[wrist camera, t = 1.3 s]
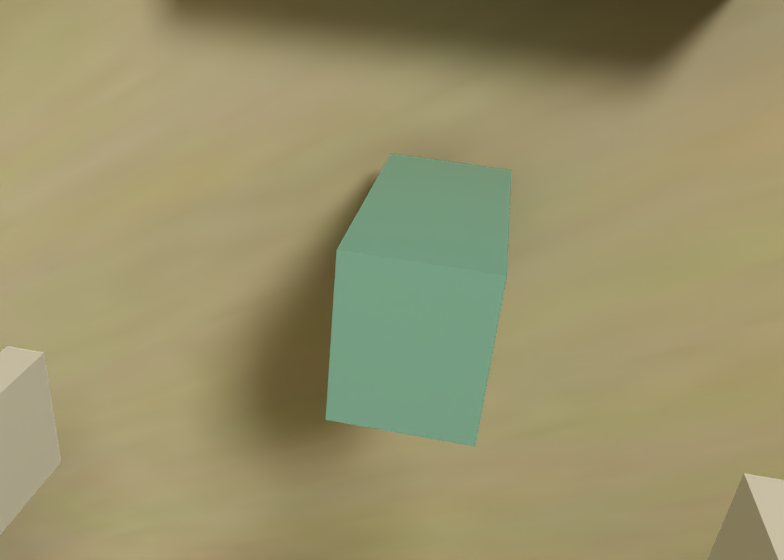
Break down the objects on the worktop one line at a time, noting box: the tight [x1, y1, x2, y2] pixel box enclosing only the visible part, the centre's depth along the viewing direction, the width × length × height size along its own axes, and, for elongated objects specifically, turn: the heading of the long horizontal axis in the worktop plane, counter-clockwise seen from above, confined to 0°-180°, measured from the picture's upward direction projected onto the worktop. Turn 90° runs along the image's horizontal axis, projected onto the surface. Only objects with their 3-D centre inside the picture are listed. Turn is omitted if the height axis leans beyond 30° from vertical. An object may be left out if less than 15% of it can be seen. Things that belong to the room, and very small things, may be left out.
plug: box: [326, 153, 511, 446], centre depth 22 cm, size 5×4×9 cm
